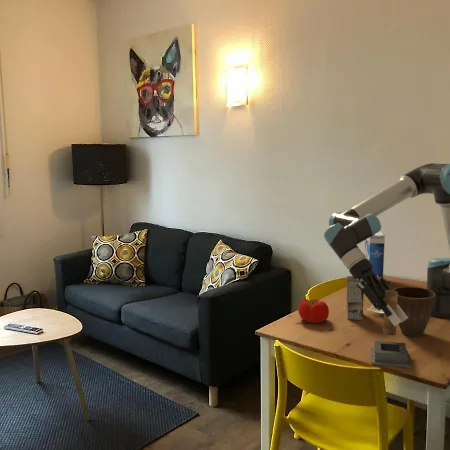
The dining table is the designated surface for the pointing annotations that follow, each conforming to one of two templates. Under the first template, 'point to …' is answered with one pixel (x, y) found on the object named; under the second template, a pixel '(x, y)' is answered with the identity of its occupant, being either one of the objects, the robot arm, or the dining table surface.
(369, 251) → the string lights box
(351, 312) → the coffee box
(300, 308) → the tomato
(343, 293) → the dining table surface
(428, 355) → the dining table surface
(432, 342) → the dining table surface
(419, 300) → the plant pot
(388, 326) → the brown wooden cylinder
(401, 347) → the grey square socket base
